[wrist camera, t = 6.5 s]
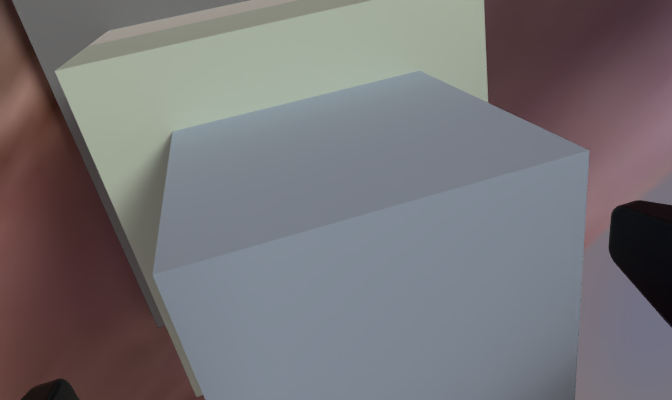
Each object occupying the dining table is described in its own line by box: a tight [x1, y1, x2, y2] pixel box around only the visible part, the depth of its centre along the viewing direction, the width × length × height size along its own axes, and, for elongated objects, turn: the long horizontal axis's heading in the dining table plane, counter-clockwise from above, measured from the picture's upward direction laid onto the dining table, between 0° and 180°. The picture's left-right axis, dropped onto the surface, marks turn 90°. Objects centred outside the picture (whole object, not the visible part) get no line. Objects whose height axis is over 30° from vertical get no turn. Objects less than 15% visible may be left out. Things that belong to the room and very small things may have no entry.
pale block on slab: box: [12, 0, 488, 397], centre depth 14 cm, size 12×12×7 cm
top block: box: [153, 71, 589, 400], centre depth 9 cm, size 5×5×5 cm
